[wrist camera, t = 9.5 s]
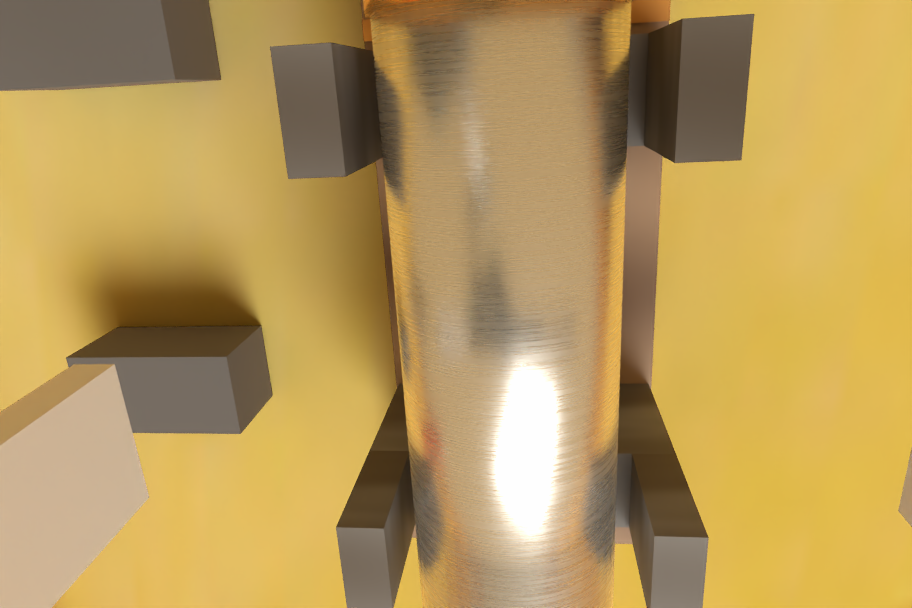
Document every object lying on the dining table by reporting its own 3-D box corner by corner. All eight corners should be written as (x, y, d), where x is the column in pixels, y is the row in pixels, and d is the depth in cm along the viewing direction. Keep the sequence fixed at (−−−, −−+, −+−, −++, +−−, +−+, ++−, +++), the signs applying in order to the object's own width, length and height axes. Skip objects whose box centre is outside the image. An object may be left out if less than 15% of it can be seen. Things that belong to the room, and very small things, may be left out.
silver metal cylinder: (385, -57, 15) (317, -127, 10) (617, -76, 14) (670, -161, 9) (436, 579, 20) (409, 736, 15) (602, 583, 20) (629, 748, 15)
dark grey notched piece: (364, -85, 20) (227, -222, 11) (665, -113, 19) (788, -292, 10) (417, 513, 27) (360, 728, 18) (637, 519, 26) (693, 750, 17)
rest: (38, -4, 22) (-36, -17, 19) (205, -17, 21) (154, -33, 18) (133, 395, 26) (86, 432, 24) (272, 395, 26) (240, 433, 23)
